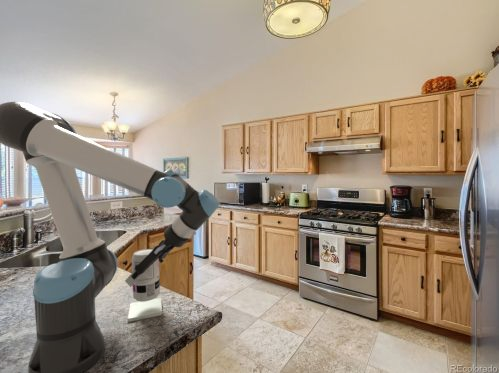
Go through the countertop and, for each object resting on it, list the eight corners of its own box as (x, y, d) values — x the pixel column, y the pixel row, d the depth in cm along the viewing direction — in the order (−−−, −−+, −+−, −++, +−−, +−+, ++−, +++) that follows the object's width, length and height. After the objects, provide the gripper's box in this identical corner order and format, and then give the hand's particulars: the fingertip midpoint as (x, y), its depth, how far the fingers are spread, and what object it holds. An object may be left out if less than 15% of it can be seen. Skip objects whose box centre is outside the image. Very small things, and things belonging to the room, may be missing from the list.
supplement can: (127, 299, 81) (125, 254, 81) (148, 288, 89) (146, 247, 88) (145, 304, 78) (143, 257, 77) (165, 293, 85) (163, 250, 84)
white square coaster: (162, 314, 81) (162, 311, 80) (127, 321, 77) (127, 318, 77) (161, 300, 90) (161, 297, 90) (130, 306, 86) (130, 303, 86)
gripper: (173, 249, 70) (124, 301, 73) (200, 231, 90) (160, 273, 94) (155, 229, 70) (106, 283, 73) (185, 217, 91) (146, 258, 94)
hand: (136, 277), depth 83 cm, fingers closed on supplement can, 8 cm apart
